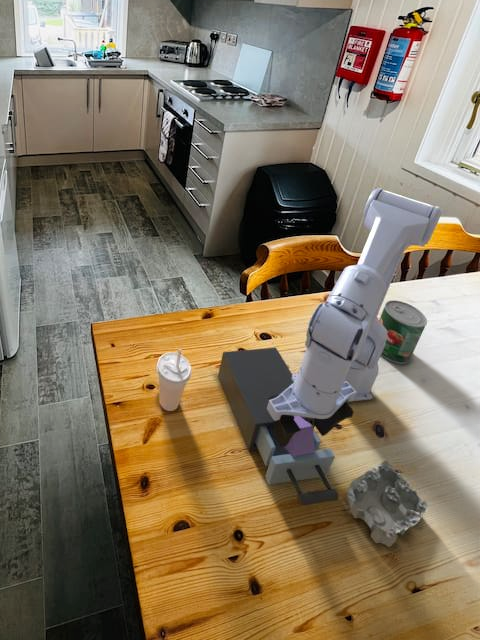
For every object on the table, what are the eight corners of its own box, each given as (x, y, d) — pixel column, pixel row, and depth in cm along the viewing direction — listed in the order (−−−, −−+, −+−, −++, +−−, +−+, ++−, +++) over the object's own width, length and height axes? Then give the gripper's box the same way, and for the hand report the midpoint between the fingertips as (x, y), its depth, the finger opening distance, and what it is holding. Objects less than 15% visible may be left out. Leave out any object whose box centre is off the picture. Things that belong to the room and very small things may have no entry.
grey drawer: (345, 510, 61) (355, 490, 59) (283, 520, 59) (291, 499, 57) (284, 399, 78) (290, 380, 76) (234, 404, 76) (239, 385, 74)
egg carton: (382, 555, 57) (391, 540, 55) (337, 498, 63) (344, 483, 62) (426, 520, 61) (436, 505, 60) (380, 470, 67) (388, 455, 66)
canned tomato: (416, 354, 91) (433, 317, 86) (401, 369, 87) (418, 332, 82) (379, 330, 97) (394, 295, 92) (364, 344, 92) (378, 308, 88)
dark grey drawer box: (308, 442, 71) (318, 416, 68) (248, 450, 69) (255, 424, 66) (269, 371, 84) (275, 347, 82) (217, 376, 82) (222, 352, 80)
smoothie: (184, 421, 73) (194, 367, 68) (150, 413, 74) (157, 360, 69) (186, 390, 79) (195, 338, 74) (154, 383, 80) (161, 332, 75)
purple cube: (298, 438, 67) (296, 413, 68) (315, 452, 63) (313, 425, 64) (278, 442, 66) (276, 417, 67) (293, 457, 62) (291, 429, 63)
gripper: (340, 345, 64) (319, 402, 69) (263, 362, 60) (247, 420, 66) (376, 384, 58) (350, 443, 63) (292, 405, 54) (272, 466, 59)
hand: (299, 434), depth 64 cm, fingers open, 7 cm apart
